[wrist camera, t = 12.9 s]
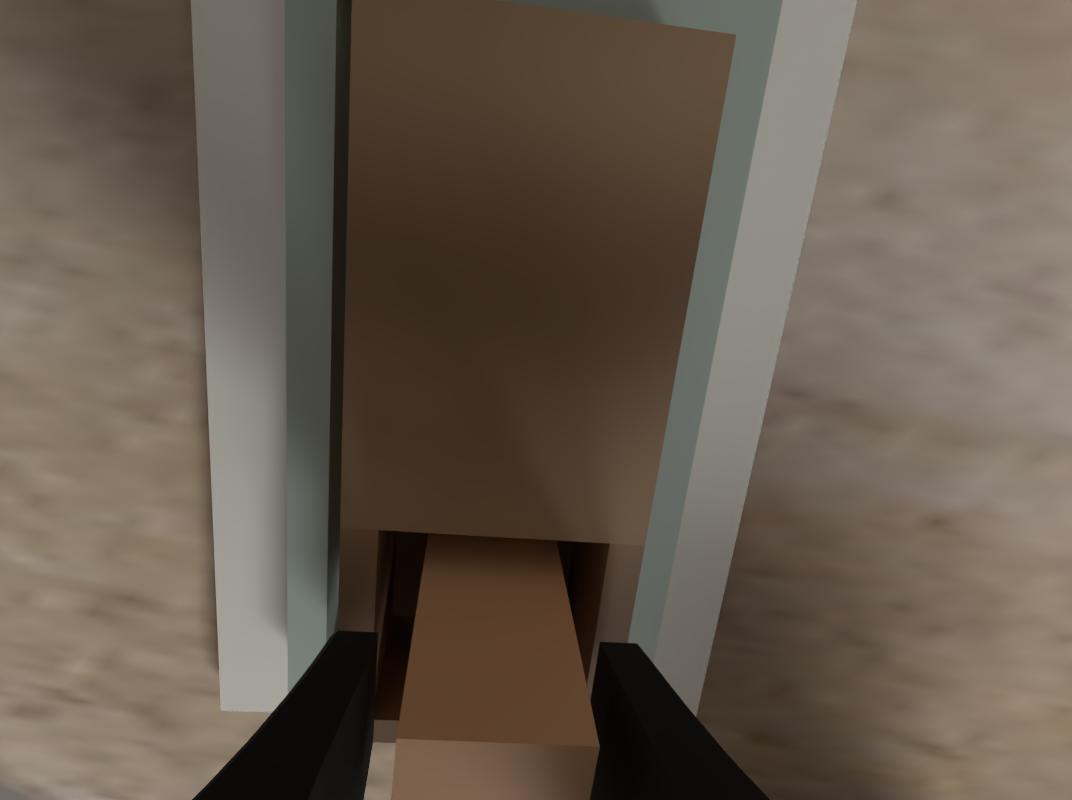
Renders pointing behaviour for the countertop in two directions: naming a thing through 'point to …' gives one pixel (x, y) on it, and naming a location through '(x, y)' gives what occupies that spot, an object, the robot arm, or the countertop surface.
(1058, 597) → the countertop surface
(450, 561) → the tan square block
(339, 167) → the cradle
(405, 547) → the tan box sleeve
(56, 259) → the countertop surface
